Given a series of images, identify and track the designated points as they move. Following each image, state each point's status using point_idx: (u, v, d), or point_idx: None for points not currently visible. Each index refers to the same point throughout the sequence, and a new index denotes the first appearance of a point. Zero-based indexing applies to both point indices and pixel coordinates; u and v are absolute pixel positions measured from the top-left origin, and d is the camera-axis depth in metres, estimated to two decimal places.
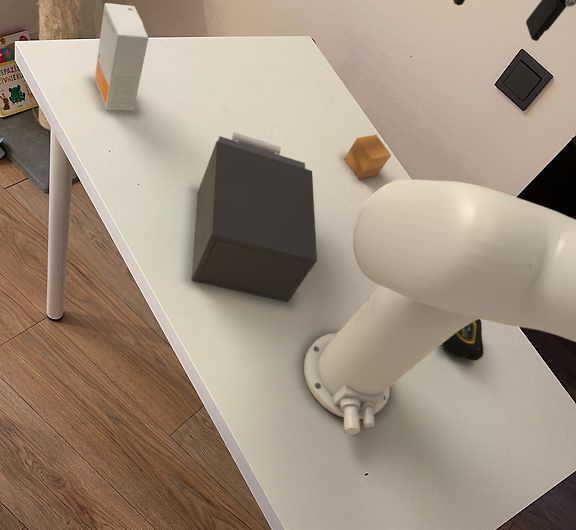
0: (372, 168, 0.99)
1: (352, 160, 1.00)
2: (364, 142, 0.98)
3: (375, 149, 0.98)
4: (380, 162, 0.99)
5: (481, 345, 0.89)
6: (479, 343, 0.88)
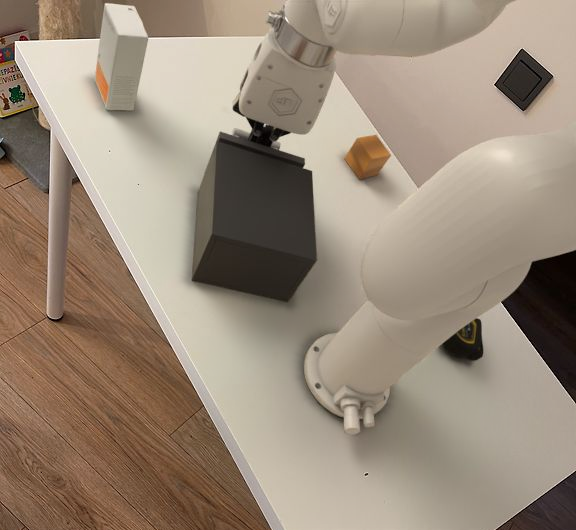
0: (372, 168, 0.99)
1: (352, 160, 1.00)
2: (364, 142, 0.98)
3: (375, 149, 0.98)
4: (380, 162, 0.99)
5: (481, 345, 0.89)
6: (479, 343, 0.88)
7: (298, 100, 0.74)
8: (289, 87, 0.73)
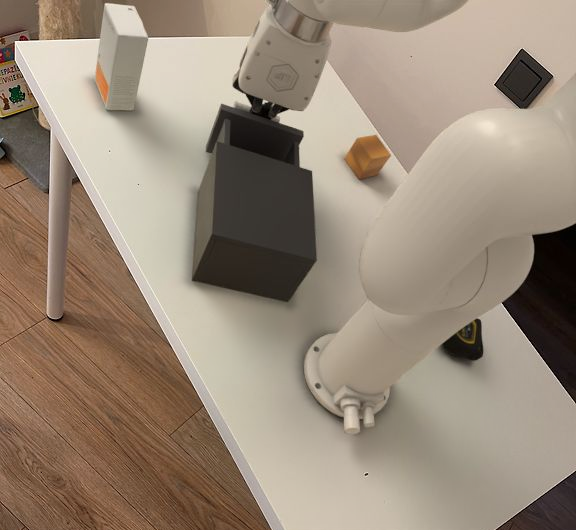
0: (372, 168, 0.99)
1: (352, 160, 1.00)
2: (364, 142, 0.98)
3: (375, 149, 0.98)
4: (380, 162, 0.99)
5: (481, 345, 0.89)
6: (479, 343, 0.88)
7: (295, 75, 0.77)
8: (286, 63, 0.76)
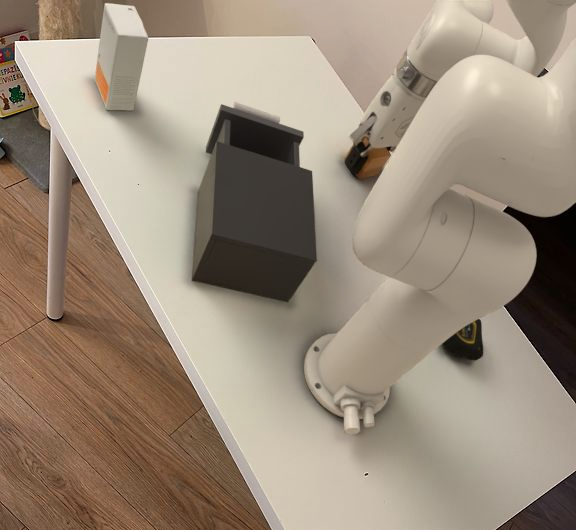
0: (372, 168, 0.99)
1: None
2: (364, 142, 0.98)
3: (375, 149, 0.98)
4: (380, 162, 0.99)
5: (481, 345, 0.89)
6: (479, 343, 0.88)
7: None
8: (412, 115, 0.90)
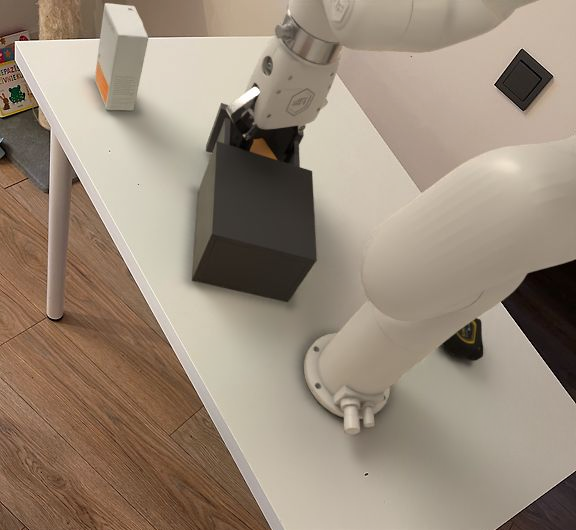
0: None
1: None
2: None
3: None
4: None
5: (481, 345, 0.89)
6: (479, 343, 0.88)
7: (311, 95, 0.74)
8: (305, 88, 0.72)
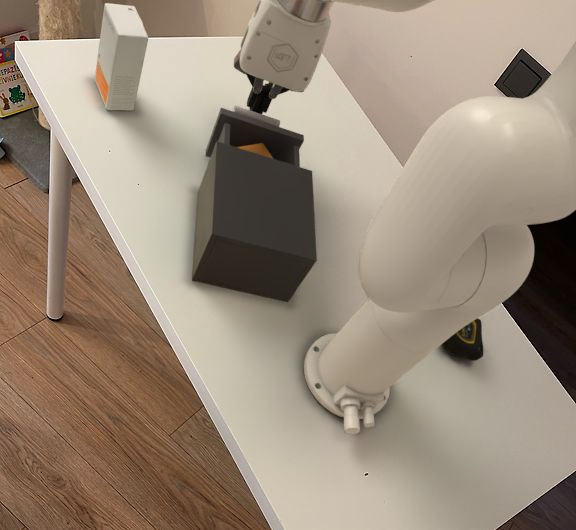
0: None
1: None
2: None
3: None
4: None
5: (481, 345, 0.89)
6: (479, 343, 0.88)
7: (295, 55, 0.79)
8: (287, 43, 0.77)
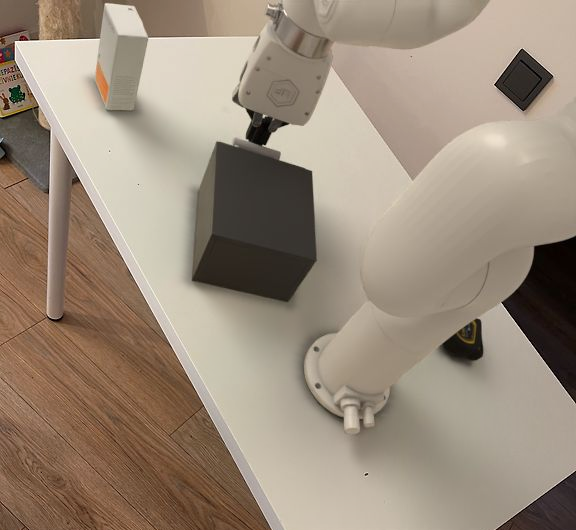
0: None
1: None
2: None
3: None
4: None
5: (481, 345, 0.89)
6: (479, 343, 0.88)
7: (295, 91, 0.76)
8: (287, 78, 0.75)
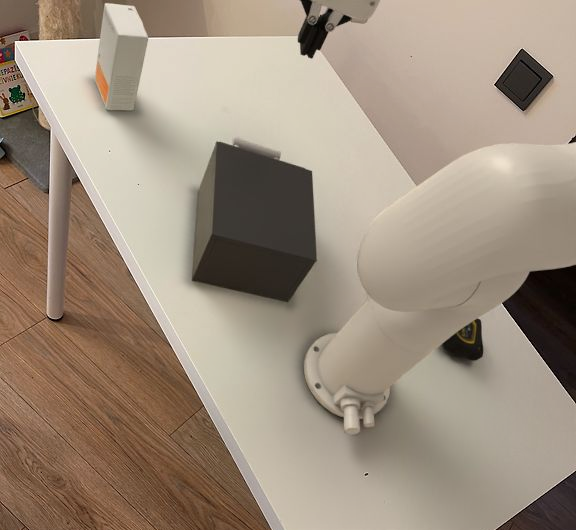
0: None
1: None
2: None
3: None
4: None
5: (481, 345, 0.89)
6: (479, 343, 0.88)
7: None
8: None
